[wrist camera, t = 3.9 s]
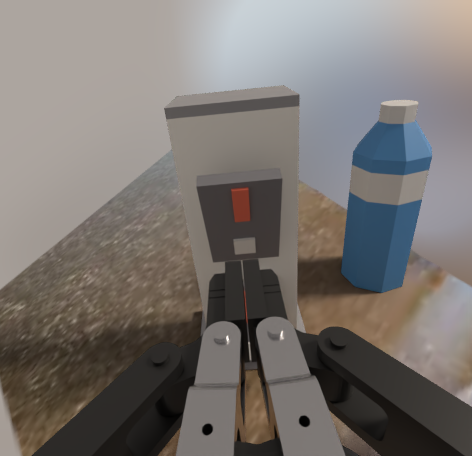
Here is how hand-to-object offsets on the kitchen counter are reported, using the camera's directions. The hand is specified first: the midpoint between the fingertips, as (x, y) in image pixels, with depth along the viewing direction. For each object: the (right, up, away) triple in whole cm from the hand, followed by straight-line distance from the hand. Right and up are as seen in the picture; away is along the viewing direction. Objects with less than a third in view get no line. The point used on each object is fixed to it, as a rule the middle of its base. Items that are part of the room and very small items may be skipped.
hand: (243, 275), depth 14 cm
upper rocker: (+1, 0, +14) cm, 14 cm away
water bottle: (+21, -5, +35) cm, 41 cm away
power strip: (+2, -12, +26) cm, 29 cm away
